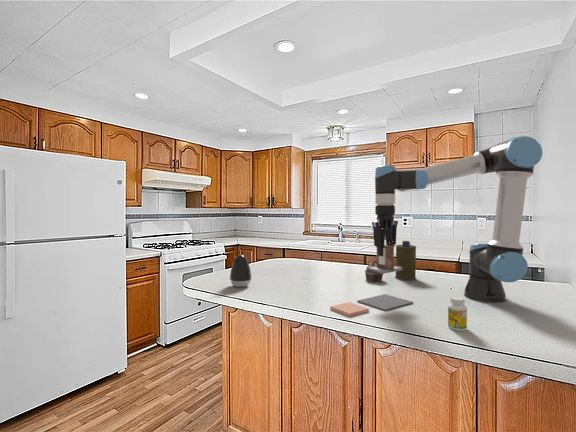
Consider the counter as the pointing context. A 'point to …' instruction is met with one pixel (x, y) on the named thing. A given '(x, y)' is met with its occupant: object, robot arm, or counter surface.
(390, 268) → the wooden block on base
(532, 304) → the counter surface
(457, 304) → the supplement bottle
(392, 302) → the mat
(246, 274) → the black grey egg shape
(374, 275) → the cupcake
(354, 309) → the tile
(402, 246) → the canister
